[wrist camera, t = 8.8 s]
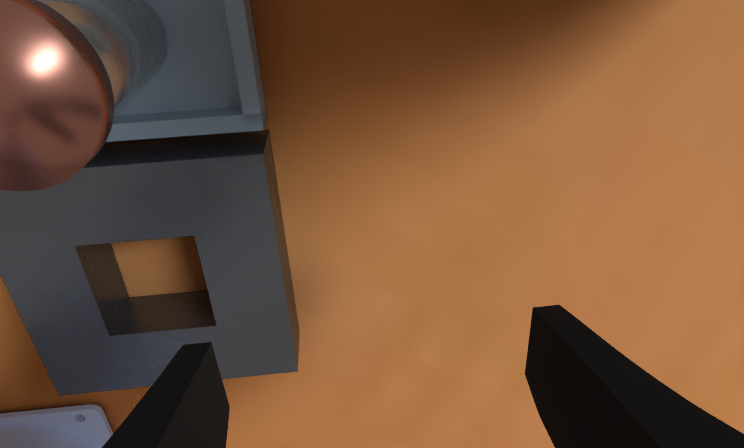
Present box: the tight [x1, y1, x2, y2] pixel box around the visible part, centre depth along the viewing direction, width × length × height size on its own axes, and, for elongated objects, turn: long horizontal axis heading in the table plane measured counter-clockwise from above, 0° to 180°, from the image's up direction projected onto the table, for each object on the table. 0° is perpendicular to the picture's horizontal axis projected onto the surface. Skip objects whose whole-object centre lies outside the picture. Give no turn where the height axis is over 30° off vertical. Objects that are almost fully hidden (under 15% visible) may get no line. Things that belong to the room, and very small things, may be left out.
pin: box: [0, 0, 168, 191], centre depth 14 cm, size 4×4×8 cm
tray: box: [39, 0, 267, 142], centre depth 16 cm, size 9×8×2 cm
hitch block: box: [0, 130, 299, 395], centre depth 21 cm, size 10×10×2 cm
